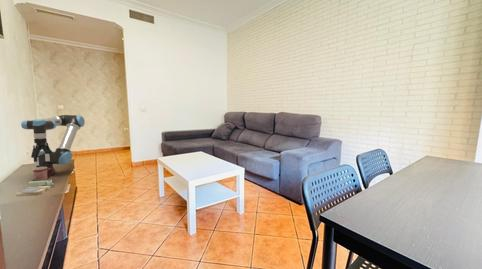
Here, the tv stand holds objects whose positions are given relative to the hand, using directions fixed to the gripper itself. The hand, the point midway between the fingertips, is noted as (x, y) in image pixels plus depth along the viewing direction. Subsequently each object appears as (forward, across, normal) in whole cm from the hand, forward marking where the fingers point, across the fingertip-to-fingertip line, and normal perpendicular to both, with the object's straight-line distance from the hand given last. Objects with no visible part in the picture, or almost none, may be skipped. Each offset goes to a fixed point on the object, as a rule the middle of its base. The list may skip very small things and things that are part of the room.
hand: (42, 163), depth 179 cm
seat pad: (+15, -20, -3) cm, 26 cm away
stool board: (+18, -17, -4) cm, 25 cm away
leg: (+15, -11, -4) cm, 19 cm away
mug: (+18, 0, 0) cm, 18 cm away
